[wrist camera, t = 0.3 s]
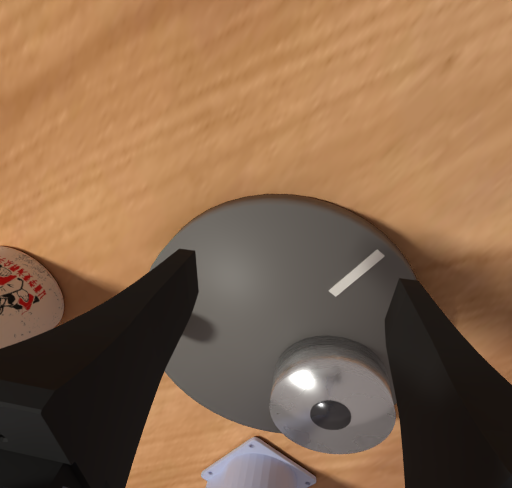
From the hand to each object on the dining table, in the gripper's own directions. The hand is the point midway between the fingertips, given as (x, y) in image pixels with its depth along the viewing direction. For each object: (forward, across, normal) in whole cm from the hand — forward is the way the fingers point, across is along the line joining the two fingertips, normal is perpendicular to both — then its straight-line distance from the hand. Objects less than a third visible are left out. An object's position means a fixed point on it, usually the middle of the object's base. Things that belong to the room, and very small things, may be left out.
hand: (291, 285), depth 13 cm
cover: (+6, -4, +14) cm, 16 cm away
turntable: (+9, +1, +12) cm, 15 cm away
